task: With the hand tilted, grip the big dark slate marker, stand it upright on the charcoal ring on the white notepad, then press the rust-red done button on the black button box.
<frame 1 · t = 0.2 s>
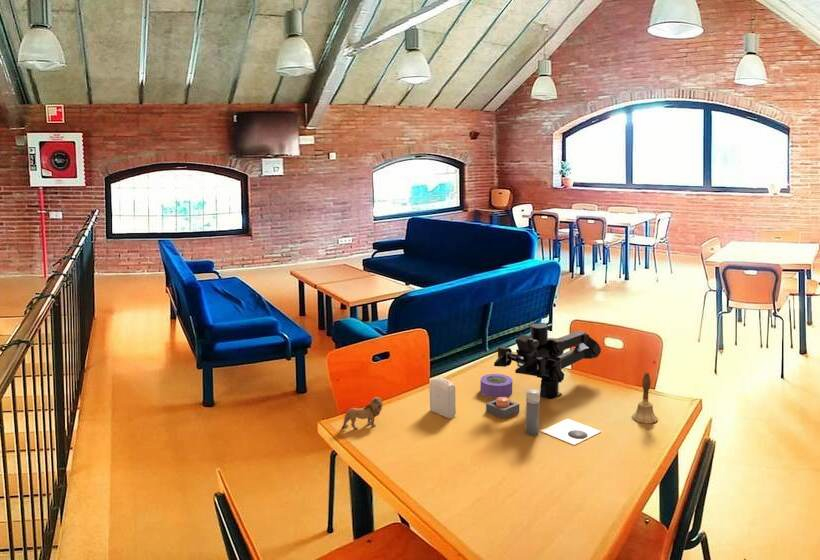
hand: (504, 368, 223), 17 cm above the table, tool horizontal, fingers open, 9 cm apart
notepad: (570, 431, 213), on the table
photo printer: (442, 413, 229), on the table
done button: (502, 404, 228), point 3 cm above the table, slide at 0.0 cm
tape roll: (496, 392, 247), on the table
lion figurine: (363, 426, 220), on the table
marker: (532, 433, 212), on the table
button box: (502, 411, 229), on the table
hand bell: (644, 419, 222), on the table
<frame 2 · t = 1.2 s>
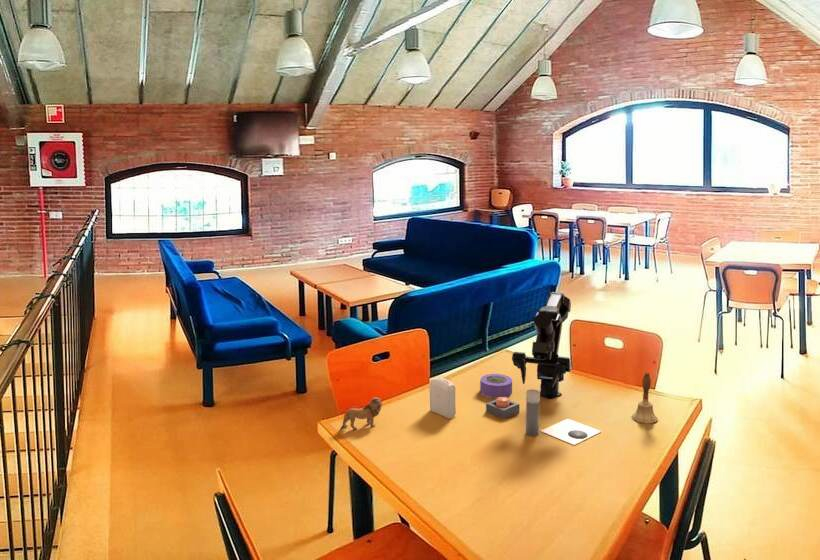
hand: (537, 385, 217), 13 cm above the table, tool tilted 45°, fingers open, 9 cm apart
nothing on the table moved.
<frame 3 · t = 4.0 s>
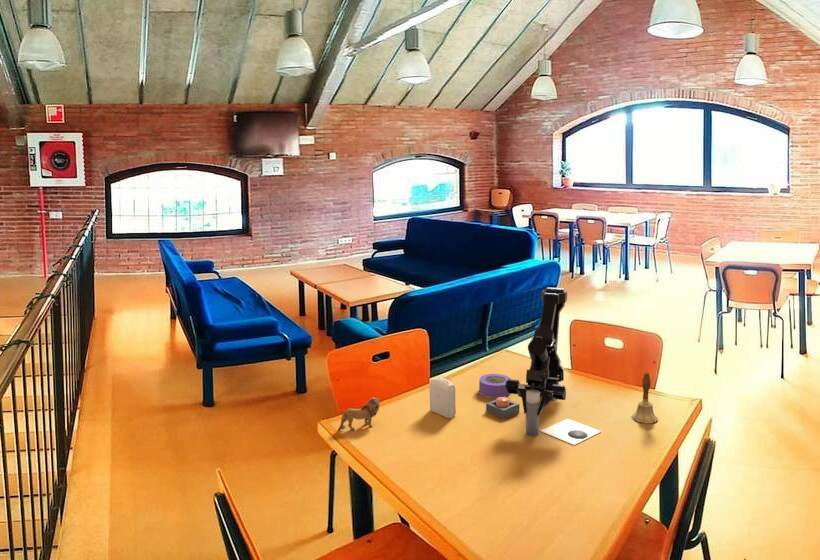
hand: (531, 414, 210), 7 cm above the table, tool tilted 45°, fingers closed on marker, 4 cm apart
marker: (532, 433, 212), on the table, touching gripper
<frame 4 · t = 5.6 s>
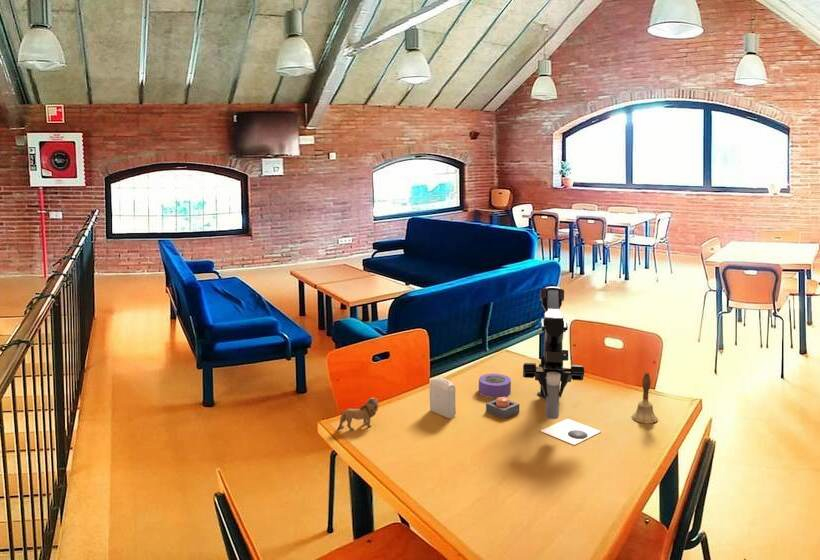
hand: (553, 396, 207), 14 cm above the table, tool tilted 45°, fingers closed on marker, 4 cm apart
marker: (552, 416, 209), point 6 cm above the table, touching gripper
when the fingers open (9 cm above the table, at t = 7.6 s): marker drops 1 cm, resting on notepad.
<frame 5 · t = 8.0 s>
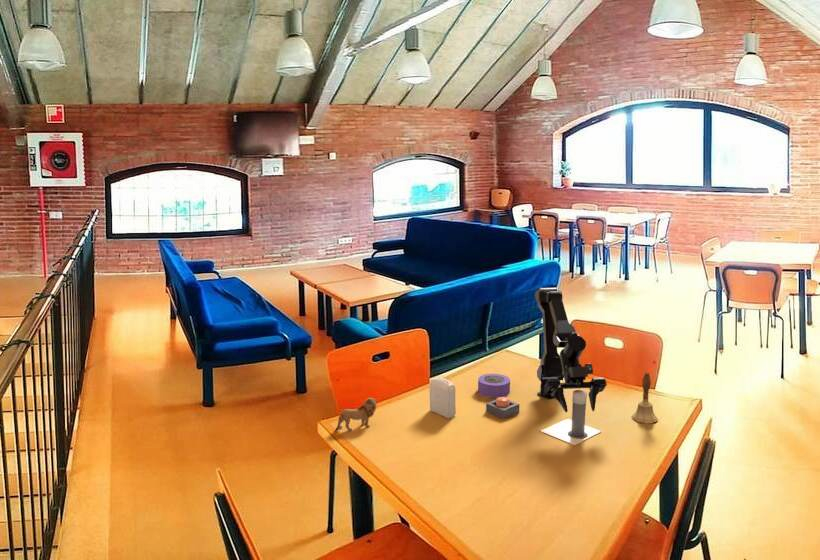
hand: (580, 411, 207), 9 cm above the table, tool tilted 45°, fingers open, 8 cm apart
marker: (577, 434, 210), resting on notepad
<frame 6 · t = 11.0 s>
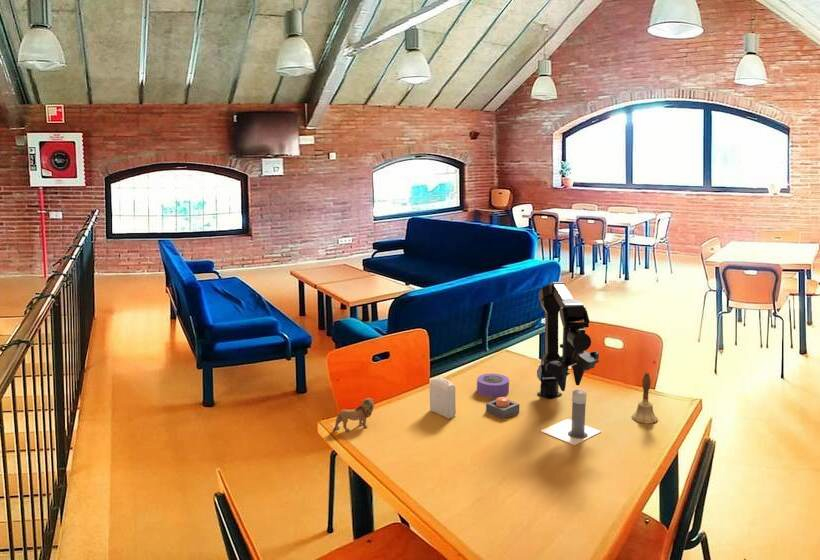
hand: (570, 387, 217), 12 cm above the table, tool pointing down, fingers open, 7 cm apart
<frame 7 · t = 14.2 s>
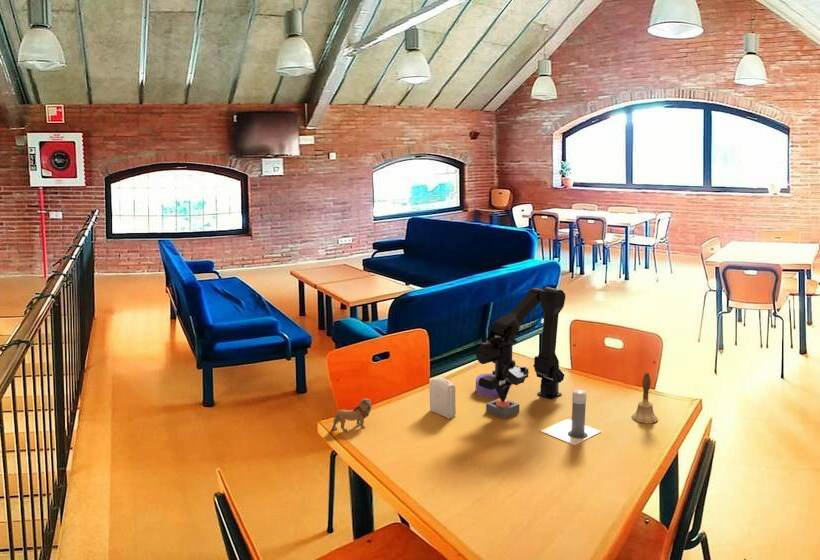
hand: (502, 400, 228), 4 cm above the table, tool pointing down, fingers closed, pressing on done button
done button: (502, 405, 228), point 2 cm above the table, slide at 0.5 cm, touching gripper
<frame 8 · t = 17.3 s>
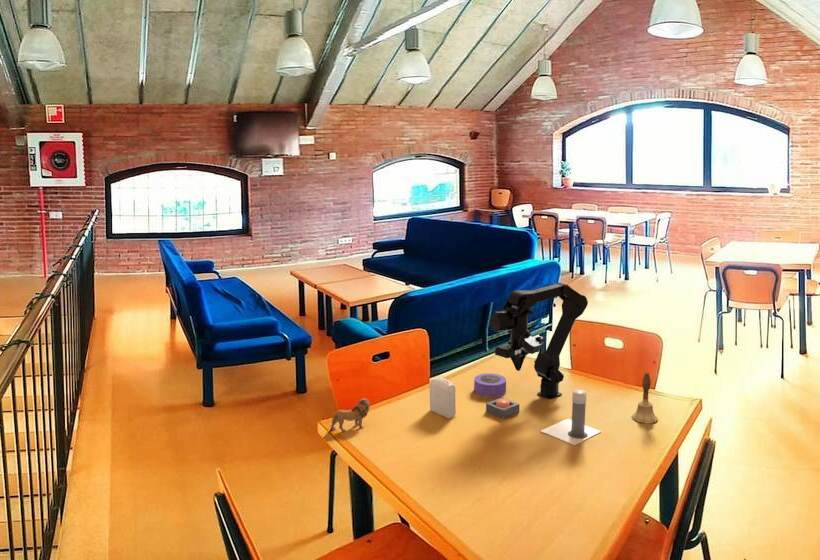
hand: (518, 370, 234), 12 cm above the table, tool pointing down, fingers closed
done button: (502, 406, 229), point 2 cm above the table, slide at 0.7 cm
at the end: marker 0.0 cm from the target spot, resting on notepad; marker tilted 0°; done button slide at 0.7 cm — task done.
